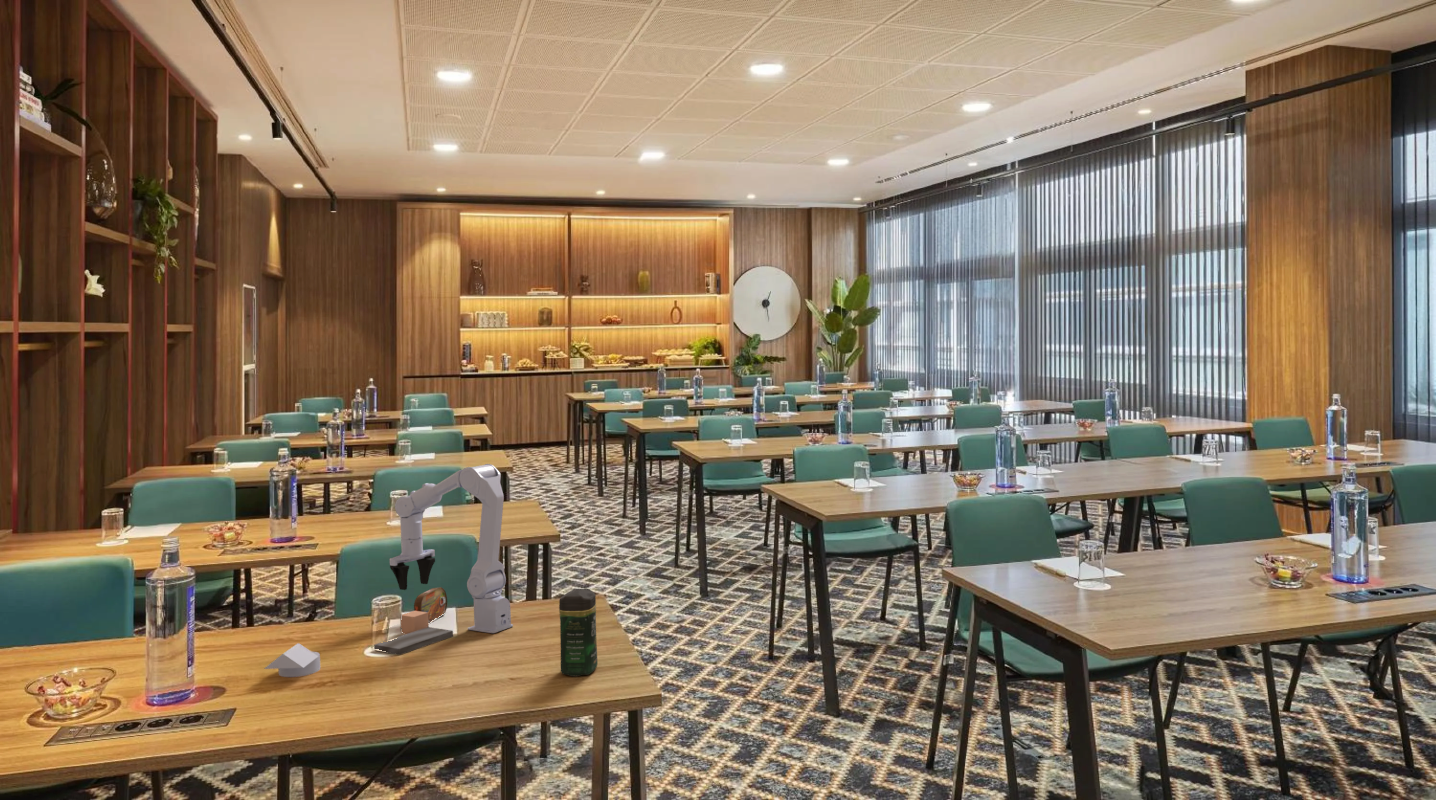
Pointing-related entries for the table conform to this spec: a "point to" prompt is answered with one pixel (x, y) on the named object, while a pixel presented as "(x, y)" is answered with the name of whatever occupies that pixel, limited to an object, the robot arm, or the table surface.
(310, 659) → the wedge on round base
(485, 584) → the robot arm
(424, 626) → the cube
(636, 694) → the table surface
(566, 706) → the table surface
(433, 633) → the charcoal board
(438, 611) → the tin
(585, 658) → the coffee jar
